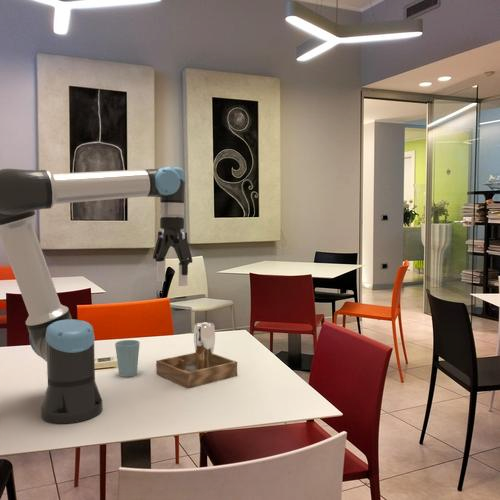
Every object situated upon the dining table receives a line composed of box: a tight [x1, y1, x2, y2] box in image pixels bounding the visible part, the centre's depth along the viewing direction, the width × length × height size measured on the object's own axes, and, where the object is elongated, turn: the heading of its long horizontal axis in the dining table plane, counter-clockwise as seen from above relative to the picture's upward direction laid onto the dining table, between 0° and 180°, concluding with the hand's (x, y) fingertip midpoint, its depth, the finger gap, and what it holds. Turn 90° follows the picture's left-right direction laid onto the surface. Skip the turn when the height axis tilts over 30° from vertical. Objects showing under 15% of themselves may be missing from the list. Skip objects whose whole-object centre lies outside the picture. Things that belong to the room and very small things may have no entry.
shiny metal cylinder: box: [193, 322, 216, 371], centre depth 169 cm, size 7×7×15 cm
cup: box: [114, 339, 141, 378], centre depth 166 cm, size 8×8×10 cm
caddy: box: [155, 352, 238, 389], centre depth 166 cm, size 19×18×4 cm
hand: (171, 283), depth 165 cm, fingers open, 13 cm apart
